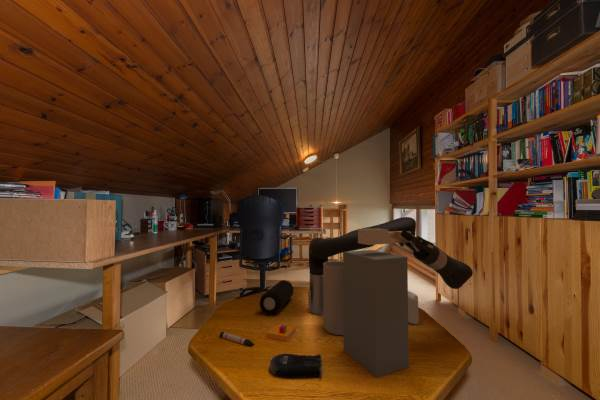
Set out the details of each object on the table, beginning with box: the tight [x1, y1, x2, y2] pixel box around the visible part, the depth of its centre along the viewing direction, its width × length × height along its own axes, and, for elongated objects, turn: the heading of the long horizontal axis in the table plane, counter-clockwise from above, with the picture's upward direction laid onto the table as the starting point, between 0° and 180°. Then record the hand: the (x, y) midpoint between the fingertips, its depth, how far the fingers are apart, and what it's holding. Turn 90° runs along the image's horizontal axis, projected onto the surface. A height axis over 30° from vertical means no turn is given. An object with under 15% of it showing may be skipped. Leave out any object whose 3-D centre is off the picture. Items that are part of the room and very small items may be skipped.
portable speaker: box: [259, 279, 294, 315], centre depth 128 cm, size 26×10×10 cm, turn 166°
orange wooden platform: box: [266, 323, 296, 342], centre depth 98 cm, size 8×8×4 cm
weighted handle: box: [357, 228, 412, 246], centre depth 87 cm, size 19×5×4 cm, turn 115°
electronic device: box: [269, 353, 323, 379], centre depth 77 cm, size 9×6×15 cm
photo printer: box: [408, 290, 420, 325], centre depth 112 cm, size 10×4×12 cm, turn 39°
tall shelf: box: [342, 249, 410, 378], centre depth 83 cm, size 12×16×32 cm
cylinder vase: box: [322, 260, 343, 336], centre depth 104 cm, size 12×12×25 cm
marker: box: [219, 331, 255, 347], centre depth 93 cm, size 15×2×2 cm, turn 60°
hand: (398, 232), depth 89 cm, fingers closed on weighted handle, 3 cm apart
